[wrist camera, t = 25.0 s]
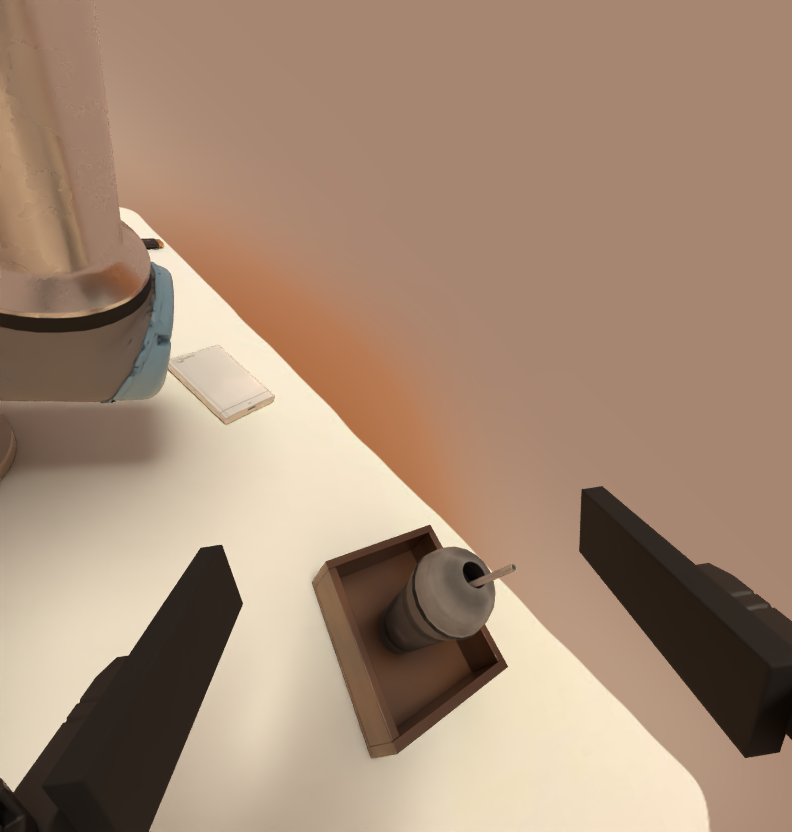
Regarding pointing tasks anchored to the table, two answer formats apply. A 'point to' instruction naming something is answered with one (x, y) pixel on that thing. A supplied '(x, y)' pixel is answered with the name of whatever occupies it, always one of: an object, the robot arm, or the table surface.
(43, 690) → the table surface
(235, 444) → the table surface
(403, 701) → the box
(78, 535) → the table surface
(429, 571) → the beverage cup
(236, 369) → the hard drive
